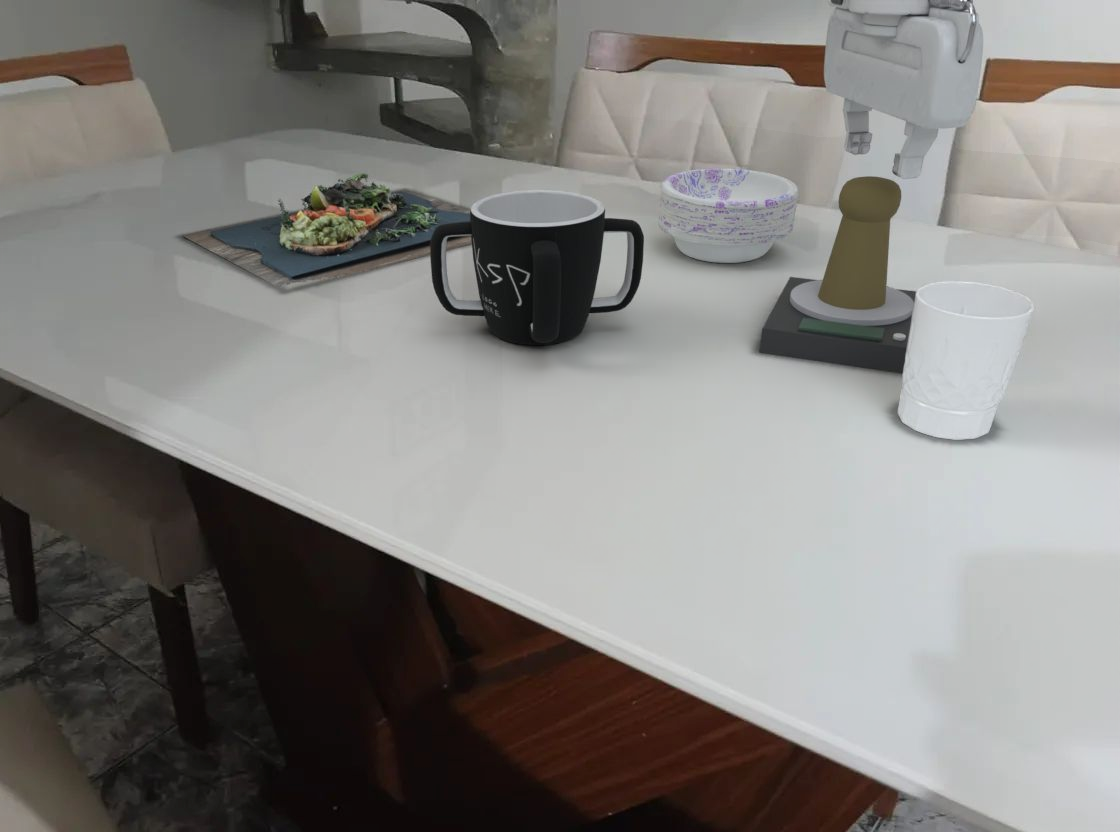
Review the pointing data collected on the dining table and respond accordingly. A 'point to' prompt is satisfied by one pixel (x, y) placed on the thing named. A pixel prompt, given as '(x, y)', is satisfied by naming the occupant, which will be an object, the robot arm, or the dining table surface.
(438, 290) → the mug
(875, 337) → the kitchen scale
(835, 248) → the olive pawn figure
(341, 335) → the dining table surface
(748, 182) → the paper bowls
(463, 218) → the plated dish
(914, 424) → the white cup
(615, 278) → the dining table surface
